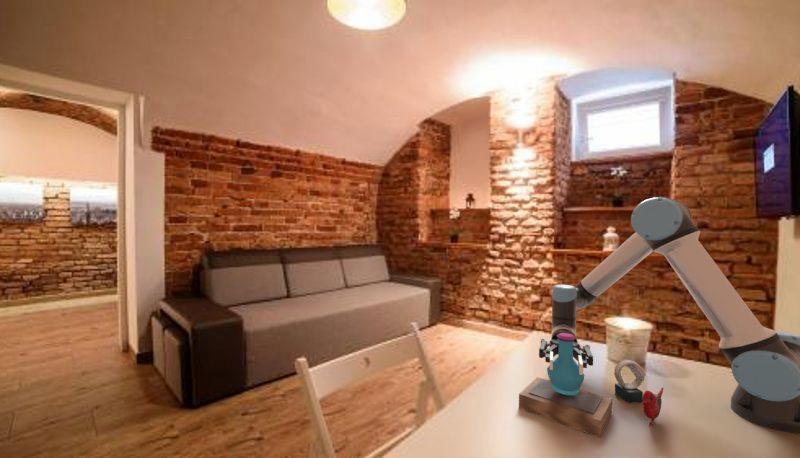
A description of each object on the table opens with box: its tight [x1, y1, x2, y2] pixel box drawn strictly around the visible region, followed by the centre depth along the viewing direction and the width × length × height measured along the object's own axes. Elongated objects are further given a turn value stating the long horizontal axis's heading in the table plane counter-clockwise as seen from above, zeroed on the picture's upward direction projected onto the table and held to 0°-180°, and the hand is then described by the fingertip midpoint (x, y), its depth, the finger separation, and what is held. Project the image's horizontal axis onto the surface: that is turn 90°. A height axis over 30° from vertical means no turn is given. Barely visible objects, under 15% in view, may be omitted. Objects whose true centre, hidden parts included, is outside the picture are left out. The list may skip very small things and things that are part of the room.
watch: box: [613, 359, 647, 404], centre depth 104 cm, size 6×8×11 cm
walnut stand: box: [518, 376, 613, 438], centre depth 96 cm, size 20×14×4 cm
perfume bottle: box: [546, 333, 585, 395], centre depth 96 cm, size 9×9×15 cm
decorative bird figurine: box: [642, 387, 665, 428], centre depth 91 cm, size 3×18×10 cm, turn 132°
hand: (566, 367), depth 91 cm, fingers closed on perfume bottle, 6 cm apart
